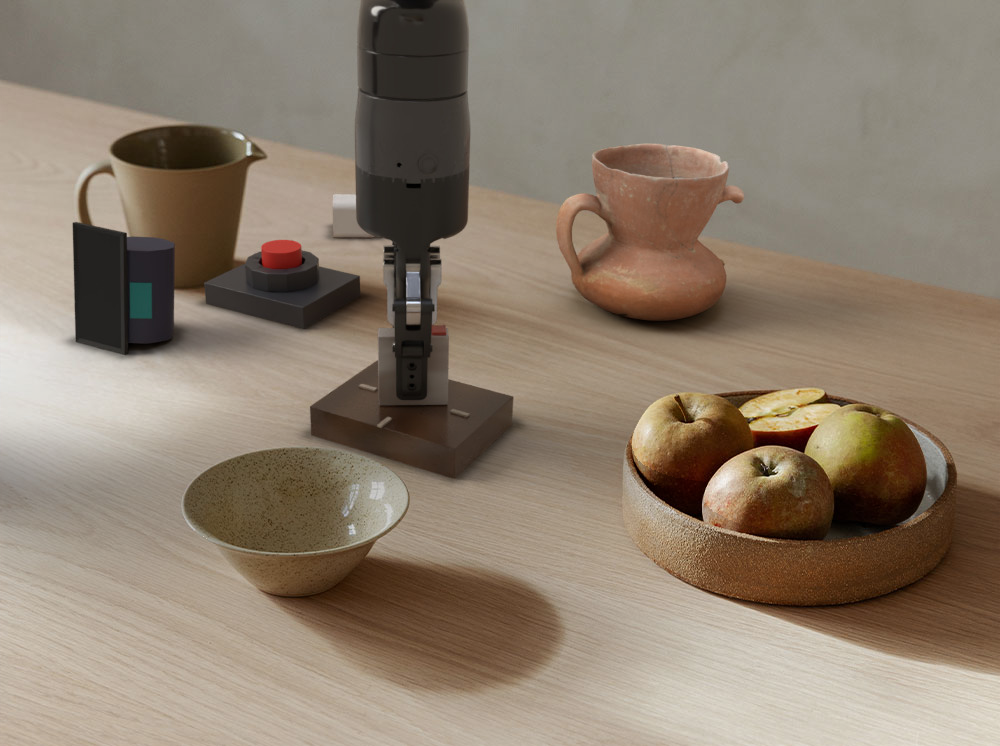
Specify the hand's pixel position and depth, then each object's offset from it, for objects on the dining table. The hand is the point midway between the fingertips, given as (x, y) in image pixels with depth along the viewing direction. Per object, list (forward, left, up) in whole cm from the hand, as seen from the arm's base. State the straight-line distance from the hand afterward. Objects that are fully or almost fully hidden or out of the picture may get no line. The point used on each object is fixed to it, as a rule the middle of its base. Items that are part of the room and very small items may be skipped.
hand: (411, 389), depth 80 cm
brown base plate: (0, 0, -3) cm, 3 cm away
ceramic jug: (+6, +32, -4) cm, 33 cm away
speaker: (-29, +2, -4) cm, 29 cm away
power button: (-23, +15, 0) cm, 27 cm away
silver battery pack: (0, 0, -1) cm, 1 cm away
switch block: (-23, +15, -3) cm, 28 cm away
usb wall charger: (-27, +35, -4) cm, 44 cm away
